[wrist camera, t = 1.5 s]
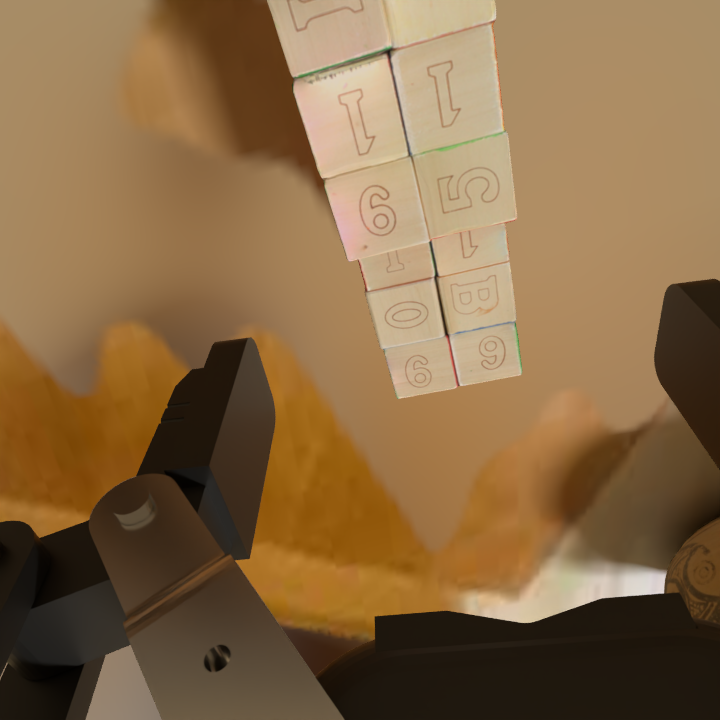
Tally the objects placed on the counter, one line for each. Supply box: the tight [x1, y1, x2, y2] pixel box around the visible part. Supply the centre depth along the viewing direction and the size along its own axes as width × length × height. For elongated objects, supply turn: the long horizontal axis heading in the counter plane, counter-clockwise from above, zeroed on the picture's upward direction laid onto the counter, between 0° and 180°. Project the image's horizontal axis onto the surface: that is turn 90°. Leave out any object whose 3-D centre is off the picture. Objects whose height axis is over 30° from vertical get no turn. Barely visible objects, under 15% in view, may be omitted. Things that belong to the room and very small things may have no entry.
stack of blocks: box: [267, 0, 522, 399], centre depth 24 cm, size 21×6×12 cm, turn 14°
